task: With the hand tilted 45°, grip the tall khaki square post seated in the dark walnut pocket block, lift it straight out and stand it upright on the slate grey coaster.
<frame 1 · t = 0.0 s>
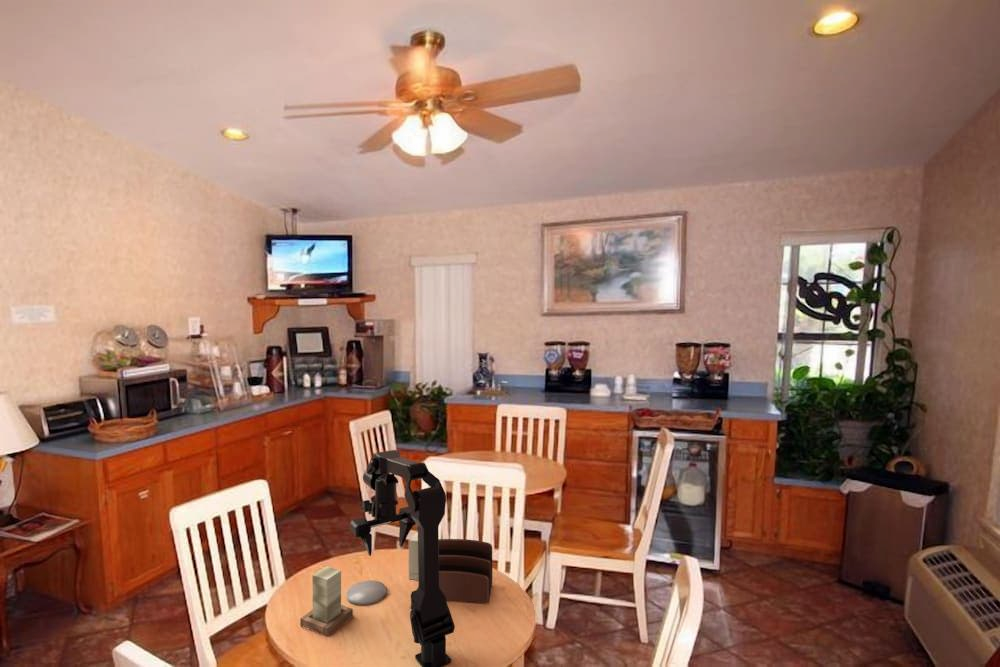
hand: (385, 550, 137), 15 cm above the table, tool pointing down, fingers open, 9 cm apart
letter holder: (457, 593, 143), on the table
tall khaki square post: (327, 621, 129), resting in pocket block
coaster: (366, 594, 141), on the table
pocket block: (327, 620, 129), on the table
skincare box: (418, 575, 152), on the table
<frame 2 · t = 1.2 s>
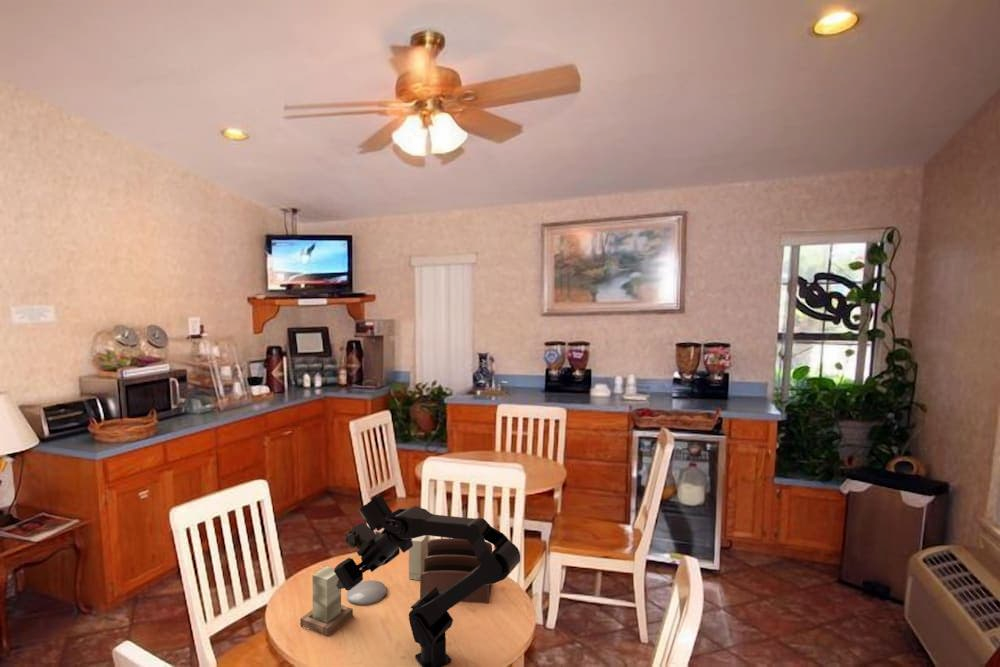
hand: (350, 577, 125), 14 cm above the table, tool tilted 45°, fingers open, 9 cm apart
nothing on the table moved.
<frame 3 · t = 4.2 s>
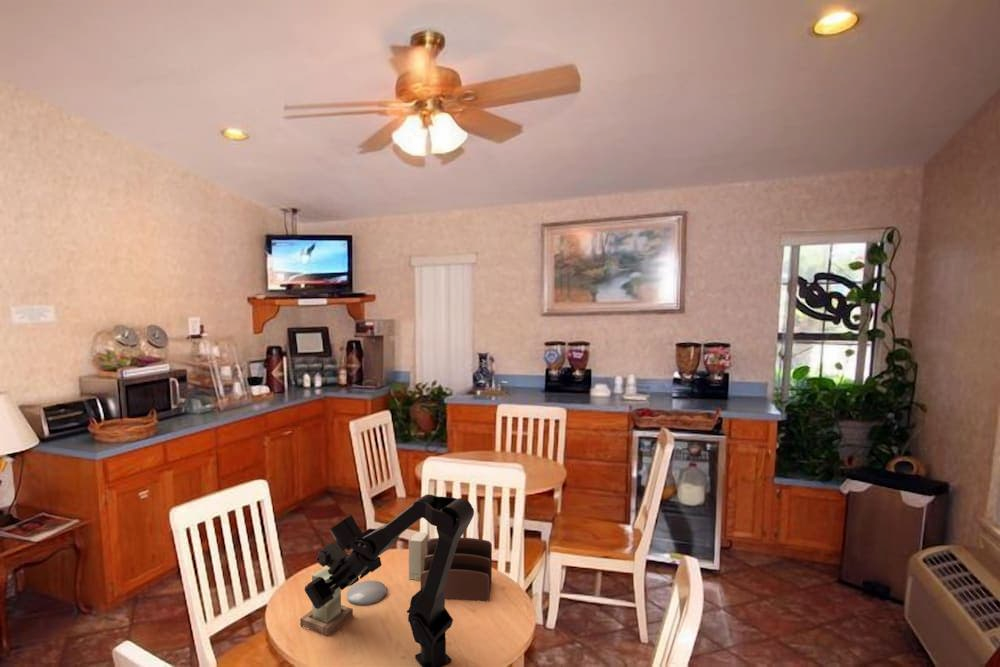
hand: (322, 594, 129), 7 cm above the table, tool tilted 45°, fingers closed on tall khaki square post, 5 cm apart
tall khaki square post: (327, 620, 129), resting in pocket block, touching gripper
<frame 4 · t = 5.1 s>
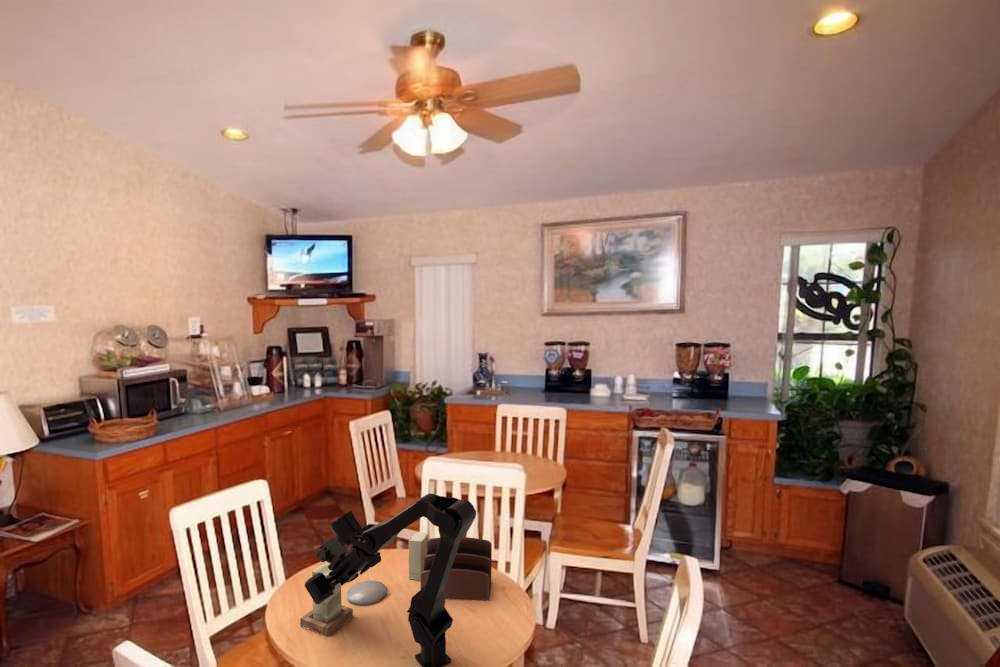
hand: (323, 591, 129), 8 cm above the table, tool tilted 45°, fingers closed on tall khaki square post, 5 cm apart
tall khaki square post: (327, 617, 129), point 1 cm above the table, touching gripper
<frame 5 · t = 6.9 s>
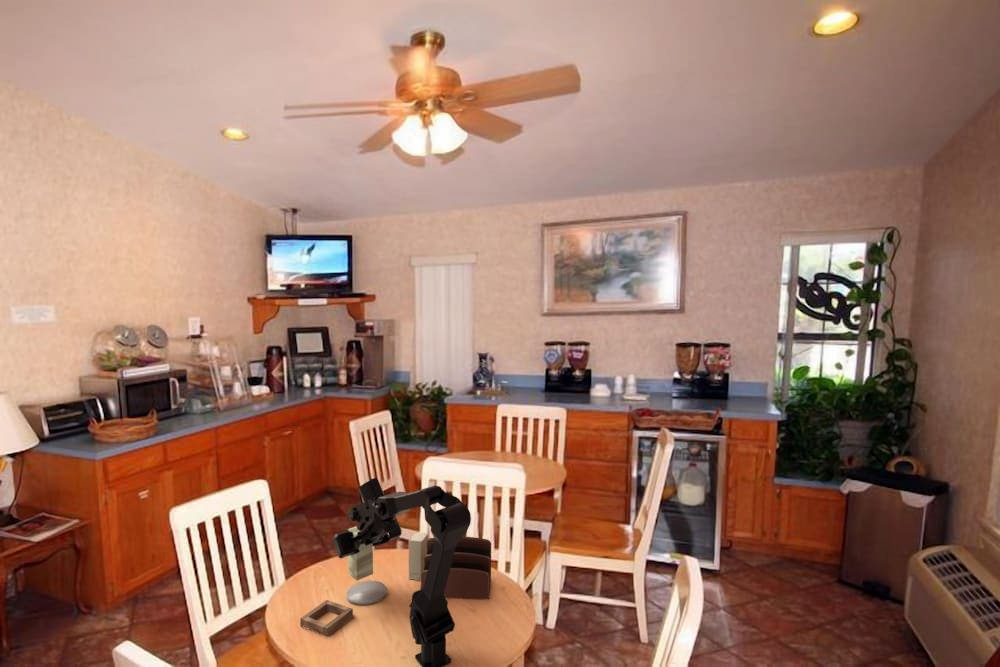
hand: (358, 549, 140), 14 cm above the table, tool tilted 45°, fingers closed on tall khaki square post, 5 cm apart
tall khaki square post: (360, 573, 139), point 7 cm above the table, touching gripper
when the fingers open (9 cm above the table, at t = 8.5 s): tall khaki square post drops 1 cm, resting on coaster.
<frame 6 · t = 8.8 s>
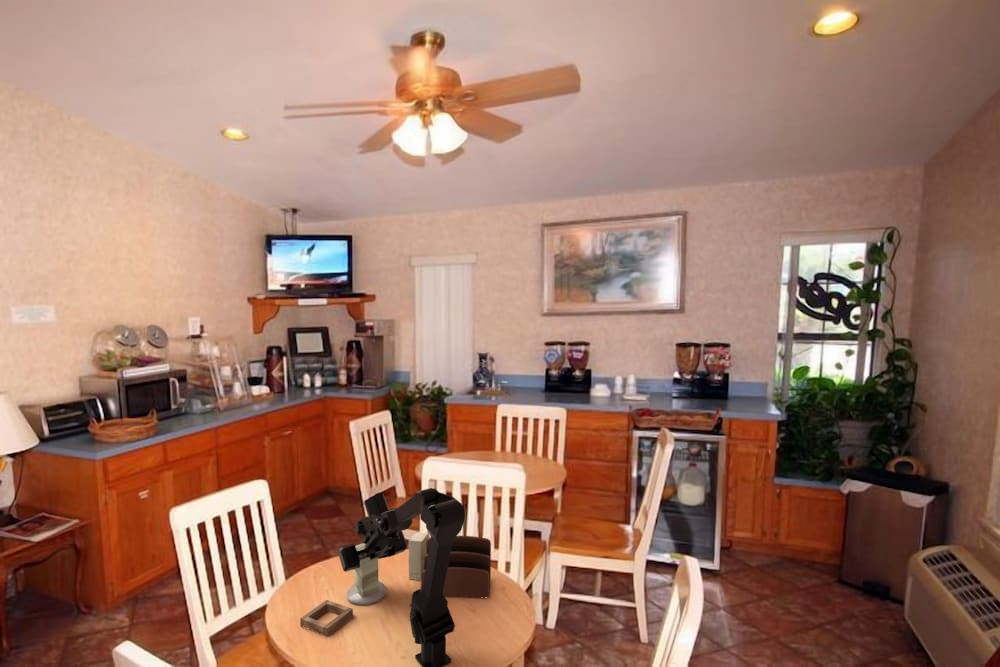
hand: (364, 561, 142), 9 cm above the table, tool tilted 45°, fingers open, 8 cm apart
tall khaki square post: (366, 590, 141), point 1 cm above the table, touching coaster
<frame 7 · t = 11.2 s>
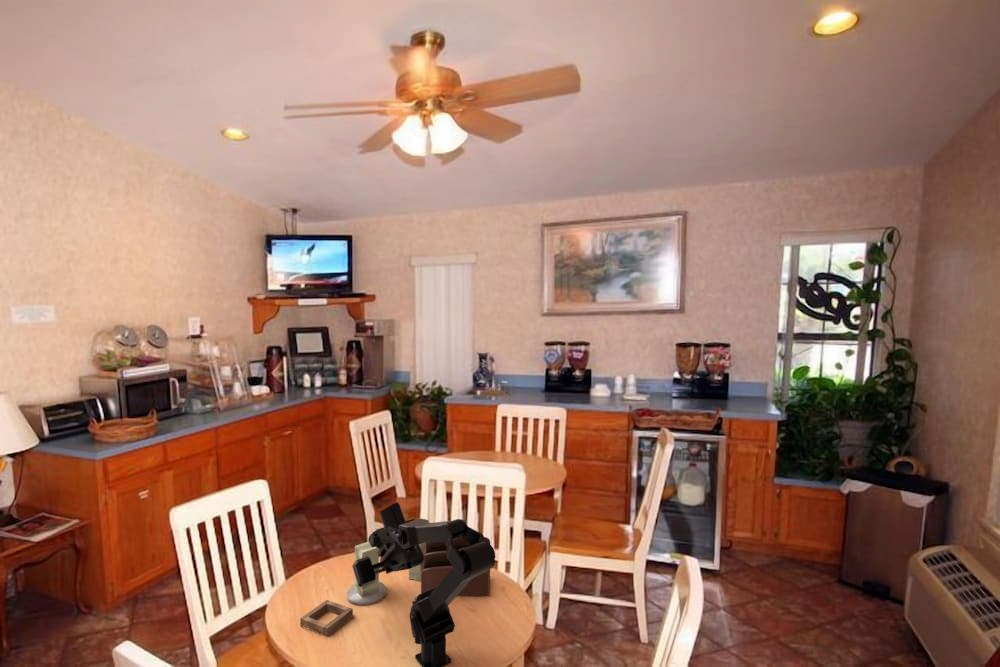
hand: (379, 575, 135), 9 cm above the table, tool tilted 45°, fingers open, 9 cm apart
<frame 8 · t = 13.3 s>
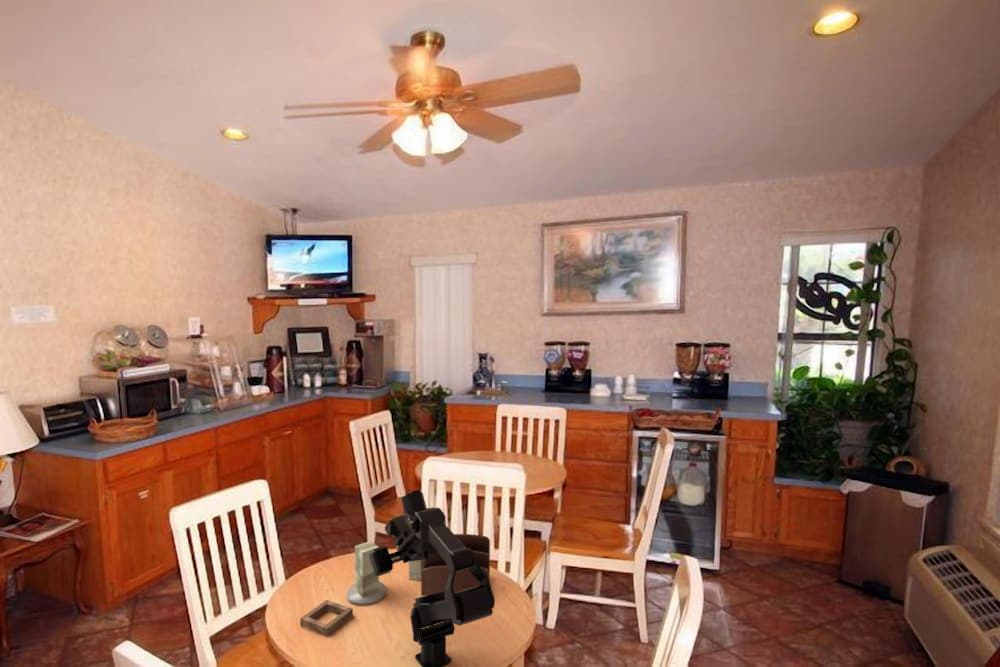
hand: (395, 565, 131), 14 cm above the table, tool tilted 45°, fingers open, 9 cm apart
at the end: tall khaki square post 0.1 cm from the coaster (horizontally); tall khaki square post tilted 0°; tall khaki square post touching coaster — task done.
